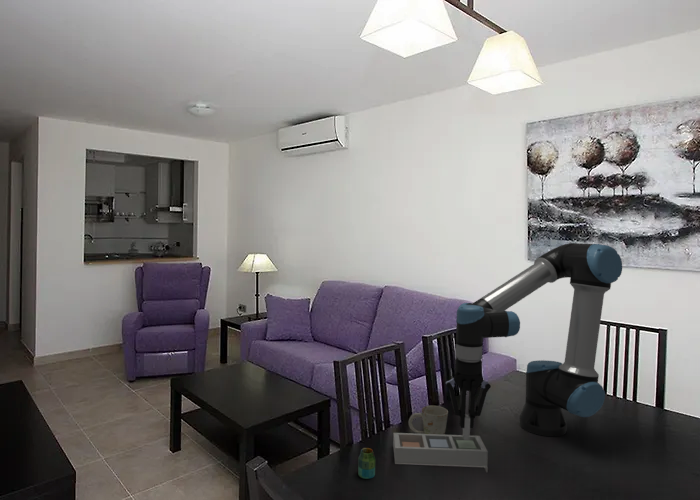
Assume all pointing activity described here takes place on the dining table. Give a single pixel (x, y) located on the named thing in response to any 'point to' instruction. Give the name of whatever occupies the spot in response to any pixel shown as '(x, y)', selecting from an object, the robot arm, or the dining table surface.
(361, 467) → the jar
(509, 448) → the dining table surface
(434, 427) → the mug
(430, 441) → the key
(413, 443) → the key
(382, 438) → the dining table surface
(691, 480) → the dining table surface
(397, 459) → the three-slot tray
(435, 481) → the dining table surface
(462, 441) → the key
